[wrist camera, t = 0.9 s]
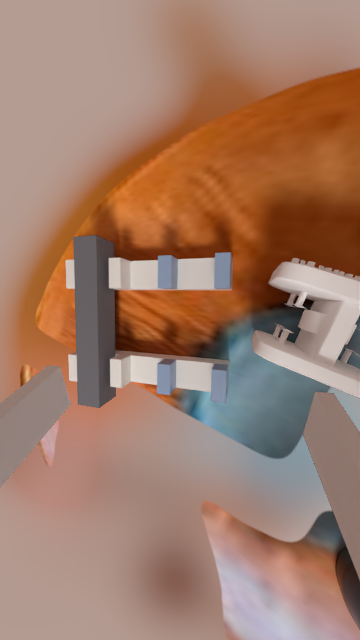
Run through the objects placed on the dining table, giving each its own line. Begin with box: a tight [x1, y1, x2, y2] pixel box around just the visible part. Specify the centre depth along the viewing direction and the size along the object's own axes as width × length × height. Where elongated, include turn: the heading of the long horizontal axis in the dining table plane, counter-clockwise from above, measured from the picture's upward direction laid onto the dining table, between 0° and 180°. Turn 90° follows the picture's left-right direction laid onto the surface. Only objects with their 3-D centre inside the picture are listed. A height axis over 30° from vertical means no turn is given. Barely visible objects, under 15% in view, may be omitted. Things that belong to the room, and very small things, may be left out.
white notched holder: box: [66, 252, 233, 403], centre depth 35 cm, size 20×26×6 cm
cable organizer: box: [252, 258, 360, 398], centre depth 25 cm, size 15×11×12 cm
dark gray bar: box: [73, 235, 116, 408], centre depth 35 cm, size 26×4×4 cm, turn 179°
